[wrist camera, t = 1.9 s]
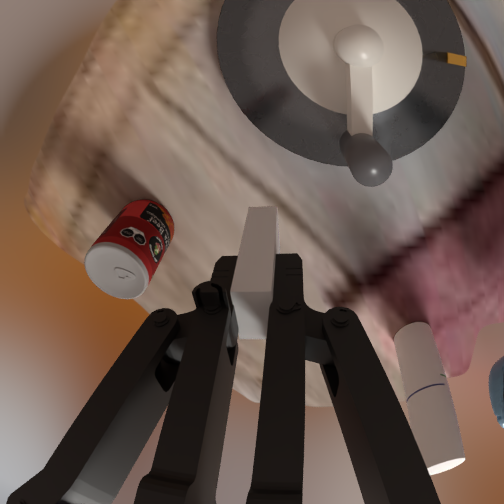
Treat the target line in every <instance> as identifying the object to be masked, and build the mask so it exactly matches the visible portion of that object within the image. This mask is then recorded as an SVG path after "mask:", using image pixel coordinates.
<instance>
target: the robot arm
mask: <svg viewBox="0 0 504 504" xmlns="http://www.w3.org/2000/svg"><path fill="white" fill-rule="evenodd" d="M192 295H193V298H194V301H195V305H196V310H194V311H191V312H188V313H184V314H180V315H177V314H176V313H175V312H174V311H173V310H171V309H168V308H162V309H158V310H156V311H154V312H152V313H151V314H150V315H149V316H148V317H147V318H146V320H145V321H144V323H143V324H142V325H141V327H140V328H139V329H138V331H137V332H136V334H135V335H134V336H133V338H132V339H131V340H130V342H129V343H128V345H127V346H126V347H125V349H124V350H123V351H122V353H121V354H120V356H119V357H118V359H117V360H116V361H115V363H114V364H113V366H112V367H111V368H110V370H109V371H108V373H107V374H106V376H105V377H104V378H103V380H102V381H101V383H100V384H99V386H98V387H97V388H96V390H95V391H94V393H93V395H92V396H91V397H90V399H89V400H88V402H87V403H86V405H85V406H84V407H83V409H82V410H81V412H80V413H79V415H78V416H77V418H76V419H75V421H74V423H73V424H72V425H71V427H70V428H69V430H68V431H67V433H66V434H65V436H64V438H63V439H62V441H61V442H60V444H59V445H58V447H57V449H56V450H55V451H54V453H53V455H52V456H51V458H50V459H49V461H48V463H47V464H46V466H45V467H44V469H43V470H42V471H40V472H39V473H38V474H36V475H35V476H34V477H33V478H31V479H30V480H29V481H27V482H26V483H25V484H23V485H22V486H21V487H20V488H18V489H17V490H15V491H14V492H13V493H12V494H11V495H10V496H9V497H8V500H7V503H6V504H111V503H112V502H113V500H114V499H115V497H116V496H117V494H118V492H119V490H120V488H121V487H122V485H123V483H124V481H125V480H126V478H127V476H128V474H129V473H130V471H131V469H132V467H133V465H134V464H135V462H136V460H137V459H138V457H139V455H140V453H141V451H142V450H143V448H144V446H145V444H146V443H147V441H148V439H149V437H150V436H151V434H152V432H153V430H154V429H155V427H156V425H157V423H158V421H159V420H160V418H161V416H162V414H163V412H164V411H165V409H166V407H167V406H168V408H167V411H166V415H165V419H164V422H163V426H162V430H161V434H160V437H159V441H158V445H157V449H156V453H155V457H154V461H153V465H152V468H151V471H150V472H149V474H147V475H146V476H144V477H143V478H142V480H141V481H140V483H139V486H138V489H137V493H136V497H135V501H134V504H216V500H215V496H216V488H217V482H218V475H219V469H220V463H221V457H222V450H223V443H224V438H225V431H226V425H227V419H228V412H229V406H230V399H231V393H232V387H233V380H234V374H235V367H236V361H237V355H238V343H237V337H238V333H239V338H240V339H266V349H265V359H264V370H263V380H262V390H261V400H260V410H259V419H258V429H257V439H256V448H255V456H254V465H253V474H252V482H251V487H250V490H249V492H248V496H247V501H246V504H302V488H303V463H304V430H305V360H308V361H312V362H316V363H319V364H320V368H321V371H322V374H323V377H324V379H325V382H326V385H327V388H328V391H329V394H330V397H331V400H332V403H333V406H334V409H335V412H336V415H337V418H338V421H339V424H340V427H341V430H342V433H343V437H344V440H345V443H346V446H347V449H348V452H349V455H350V458H351V461H352V465H353V468H354V471H355V474H356V477H357V480H358V484H359V487H360V490H361V493H362V496H363V500H364V503H365V504H441V503H440V501H439V498H438V496H437V493H436V490H435V487H434V485H433V482H432V480H431V477H430V474H429V472H428V469H427V467H426V464H425V462H424V459H423V457H422V454H421V452H420V450H419V447H418V445H417V442H416V440H415V438H414V435H413V433H412V431H411V428H410V426H409V424H408V421H407V419H406V417H405V415H404V412H403V410H402V408H401V406H400V403H399V401H398V399H397V397H396V395H395V392H394V390H393V388H392V386H391V384H390V382H389V379H388V377H387V375H386V373H385V371H384V369H383V367H382V365H381V363H380V360H379V358H378V356H377V354H376V352H375V350H374V348H373V346H372V344H371V342H370V340H369V338H368V336H367V334H366V332H365V330H364V328H363V326H362V324H361V322H360V320H359V318H358V316H357V315H356V314H355V312H354V311H352V310H350V309H348V308H344V307H335V308H332V309H329V310H328V311H327V312H326V313H322V312H318V311H315V310H313V309H311V308H309V307H308V306H307V305H306V303H305V302H304V295H303V269H302V259H301V258H300V256H299V255H298V254H297V253H295V254H280V239H279V224H278V210H277V206H267V207H249V209H248V214H247V218H246V223H245V227H244V232H243V236H242V240H241V245H240V249H239V254H238V256H222V257H221V258H220V259H219V260H218V261H217V262H216V263H215V267H214V270H213V273H212V278H211V280H210V281H207V282H203V283H201V284H199V285H198V286H196V287H195V288H194V290H193V291H192ZM489 393H490V399H491V404H492V408H493V411H494V414H495V415H496V416H497V421H498V422H499V424H500V426H501V427H503V428H504V356H503V357H502V358H500V359H499V360H498V361H497V362H496V363H495V364H494V365H493V367H492V369H491V371H490V375H489Z"/></svg>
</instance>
